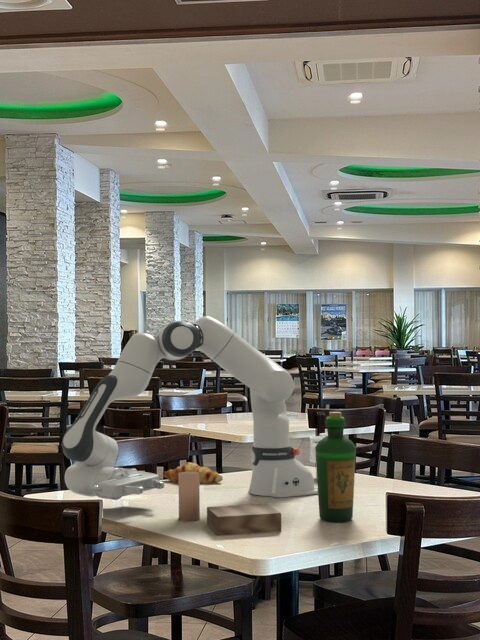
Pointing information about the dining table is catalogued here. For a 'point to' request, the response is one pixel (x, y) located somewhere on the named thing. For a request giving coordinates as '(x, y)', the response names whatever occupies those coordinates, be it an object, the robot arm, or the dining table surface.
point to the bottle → (335, 472)
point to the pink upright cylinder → (189, 496)
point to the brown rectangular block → (243, 519)
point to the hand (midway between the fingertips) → (152, 488)
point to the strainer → (312, 447)
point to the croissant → (204, 472)
